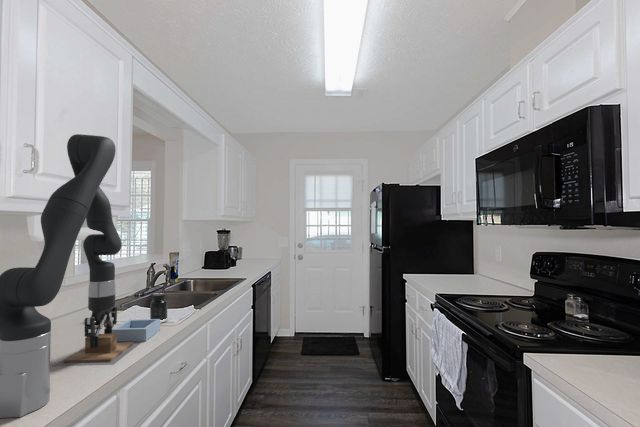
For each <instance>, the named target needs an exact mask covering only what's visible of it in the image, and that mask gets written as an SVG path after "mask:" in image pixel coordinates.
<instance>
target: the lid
mask: <svg viewBox="0 0 640 427" xmlns="http://www.w3.org/2000/svg"><path fill="white" fill-rule="evenodd" d="M98 336H99V340H98V347H97V348H90V337H85V339H84V347H85V348H84V347H83V348H84V349H82V348H81V349H82V350H81V351H79V350H78V351H79V352H77V351H76V352H77V353H75V352H74V353H75V354H74V355H72V354H71V355H72V356H70V355H69V356H70V357H69V358H67V357H66V358H67V359H65V358H64V359H65V360H64V363H86V362H111V361H112V360H114V359H115V358H116V357H118V356H119V355H120V354H122V353H123V352H124V351H126V350H127V349H128V348H130V347H131V346H132V345H133V343H134V342H117V334H104V333H99V335H98Z"/></svg>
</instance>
